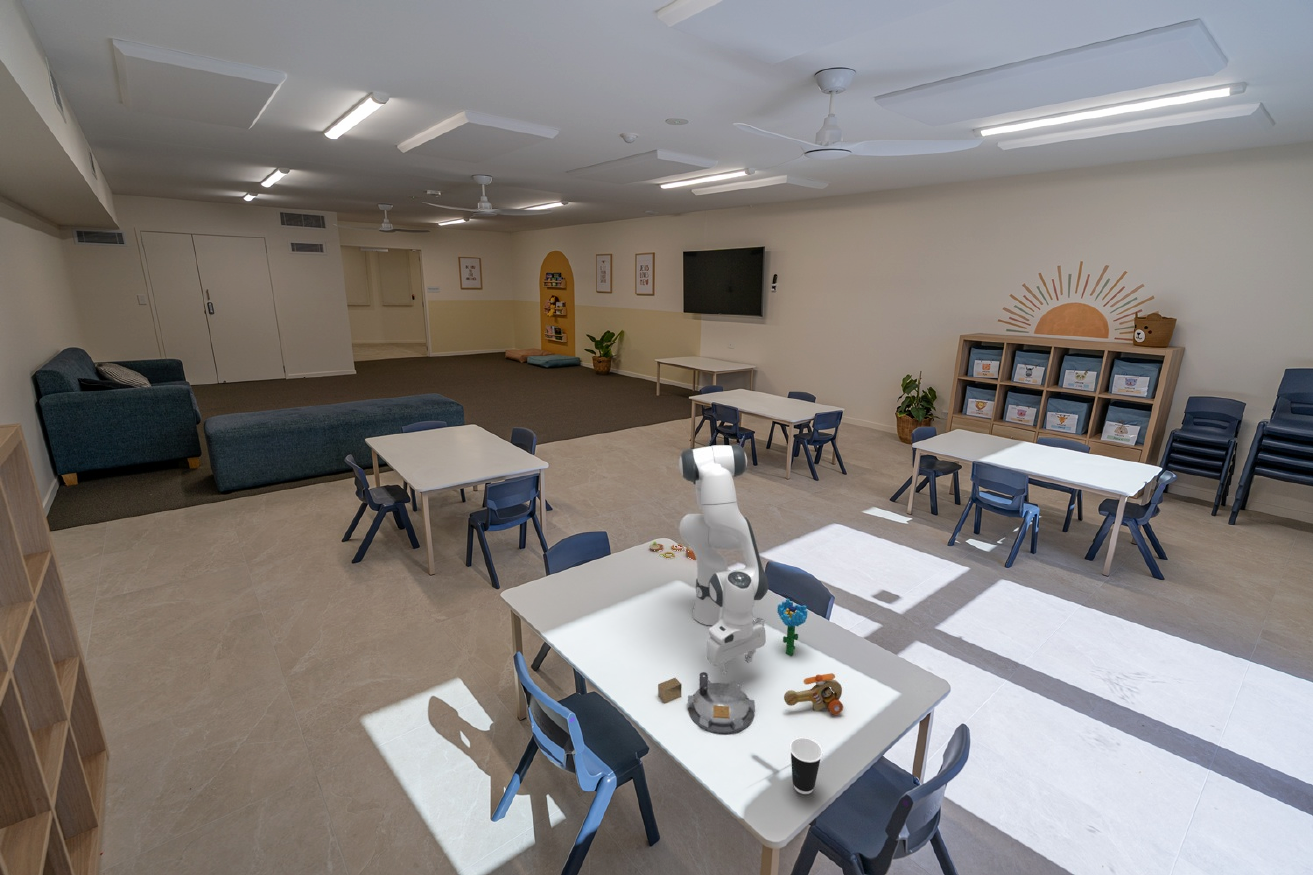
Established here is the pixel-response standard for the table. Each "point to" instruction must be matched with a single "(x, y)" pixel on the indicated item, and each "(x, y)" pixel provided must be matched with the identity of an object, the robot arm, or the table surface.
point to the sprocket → (720, 703)
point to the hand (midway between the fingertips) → (736, 666)
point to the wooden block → (669, 690)
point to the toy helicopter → (819, 694)
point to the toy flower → (791, 621)
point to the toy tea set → (660, 547)
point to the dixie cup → (805, 763)
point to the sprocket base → (721, 729)
